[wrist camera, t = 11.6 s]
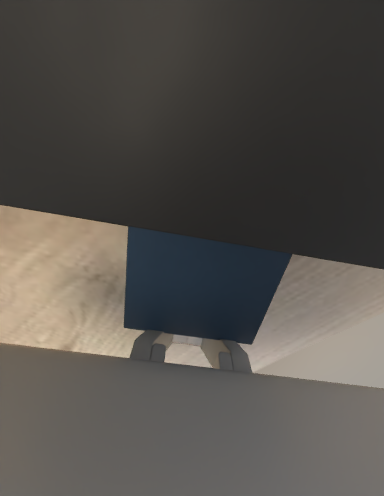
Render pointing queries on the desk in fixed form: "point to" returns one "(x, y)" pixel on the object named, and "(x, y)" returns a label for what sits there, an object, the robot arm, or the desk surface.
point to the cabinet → (200, 119)
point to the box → (198, 285)
